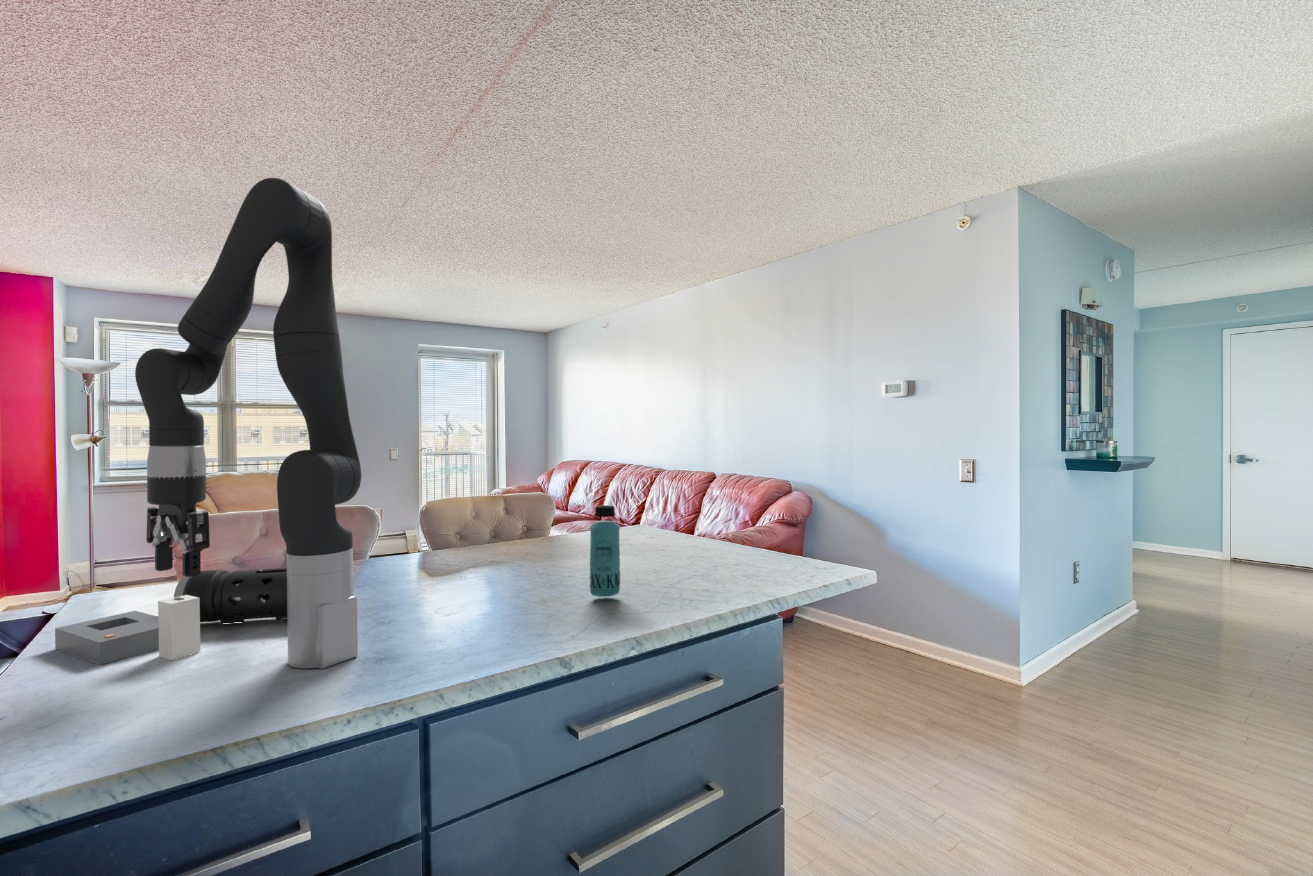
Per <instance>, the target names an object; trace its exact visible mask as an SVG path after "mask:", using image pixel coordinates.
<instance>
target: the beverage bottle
mask: <svg viewBox="0 0 1313 876" xmlns="http://www.w3.org/2000/svg"><path fill="white" fill-rule="evenodd" d="M615 515H616V513H615V507H614V506H613V505H598V506H595V515H594V517H596V518H597V517H599V518H608V517H615ZM620 528H621V527H620V525H619V524H618V523H617V522H616V521H613V520H598V521H597V520H596V521H594V523H592V524H591V525H590V527H589V529H590V544H589V545H590V551H589V568H588V569H589V574H588V575H589V592H590V595H592V596H595V597H604V598H605V597H612V596H616V595H618V594H619V593H620V589H621V570H620V569H621V557H620V556H621V553H620V552H621V551H620Z"/></svg>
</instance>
